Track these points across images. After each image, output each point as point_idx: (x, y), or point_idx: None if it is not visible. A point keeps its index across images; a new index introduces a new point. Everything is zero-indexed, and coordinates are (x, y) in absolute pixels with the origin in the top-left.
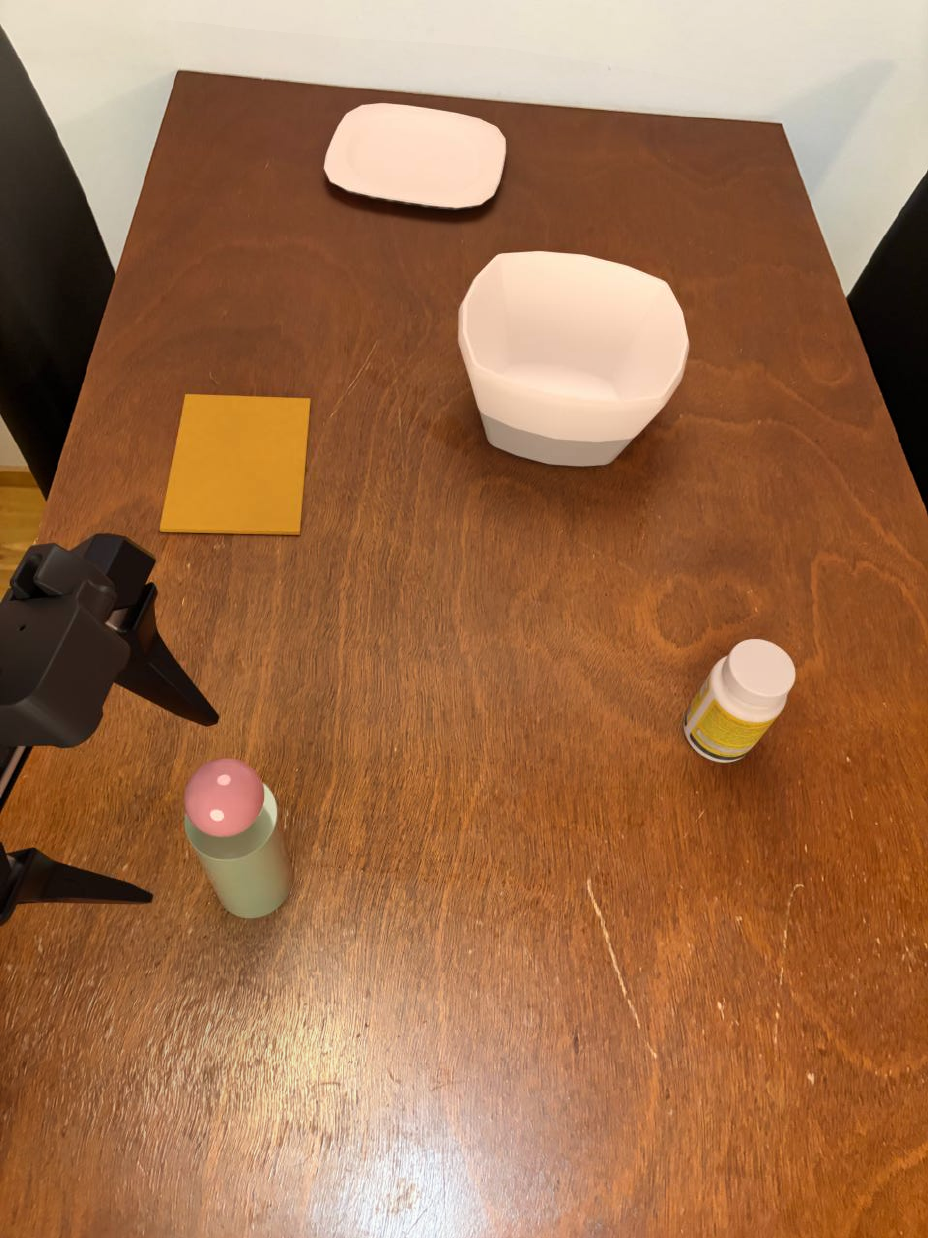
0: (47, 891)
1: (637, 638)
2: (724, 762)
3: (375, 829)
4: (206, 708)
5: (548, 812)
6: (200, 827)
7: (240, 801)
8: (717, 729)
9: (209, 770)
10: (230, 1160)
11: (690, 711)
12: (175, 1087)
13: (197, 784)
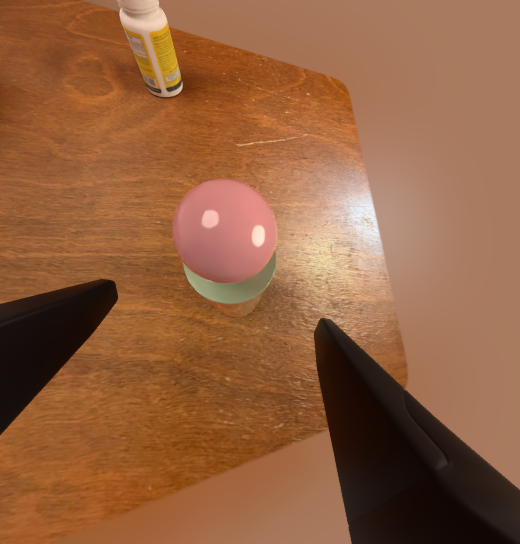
0: (507, 489)
1: (103, 105)
2: (182, 86)
3: None
4: (84, 287)
5: (203, 155)
6: (272, 253)
7: (248, 185)
8: (167, 57)
9: (199, 221)
10: (367, 290)
11: (153, 79)
12: (343, 321)
13: (223, 239)
